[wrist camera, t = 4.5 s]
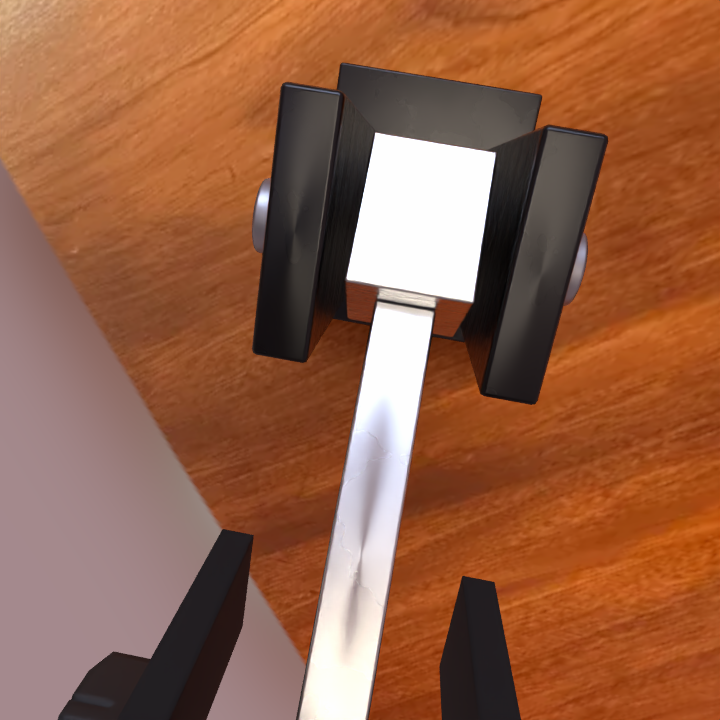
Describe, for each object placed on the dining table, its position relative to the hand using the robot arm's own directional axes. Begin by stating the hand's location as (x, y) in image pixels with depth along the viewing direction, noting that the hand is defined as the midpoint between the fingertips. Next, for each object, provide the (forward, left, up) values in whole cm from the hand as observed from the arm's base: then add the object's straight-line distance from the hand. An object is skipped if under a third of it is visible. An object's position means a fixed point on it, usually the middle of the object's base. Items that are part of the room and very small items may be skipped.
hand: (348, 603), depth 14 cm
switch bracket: (-6, +7, -12) cm, 15 cm away
